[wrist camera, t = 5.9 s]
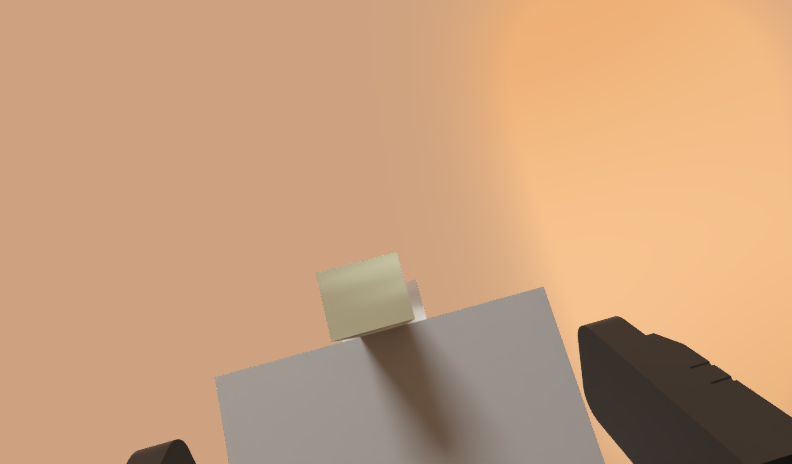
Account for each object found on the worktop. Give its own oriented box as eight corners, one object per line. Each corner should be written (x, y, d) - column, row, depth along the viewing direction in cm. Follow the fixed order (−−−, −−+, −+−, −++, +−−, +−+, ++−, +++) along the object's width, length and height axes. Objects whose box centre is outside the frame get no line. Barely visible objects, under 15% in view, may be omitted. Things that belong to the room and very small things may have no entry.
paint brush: (354, 340, 31) (346, 308, 32) (419, 322, 31) (411, 290, 32) (277, 356, 11) (259, 265, 11) (467, 304, 11) (440, 217, 12)
